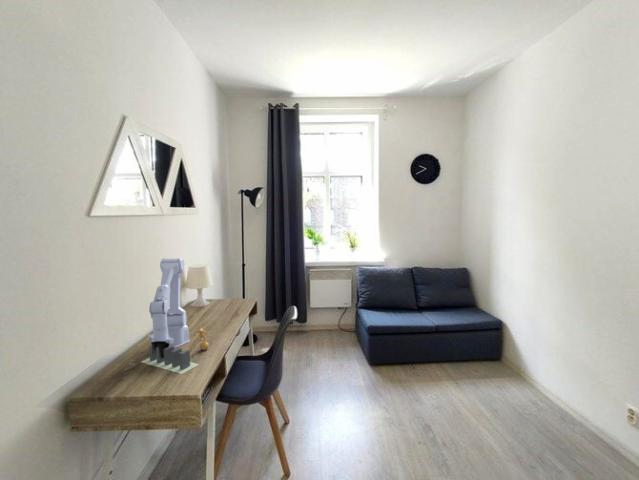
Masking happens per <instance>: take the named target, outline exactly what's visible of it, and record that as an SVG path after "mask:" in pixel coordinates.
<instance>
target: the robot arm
mask: <svg viewBox="0 0 639 480" xmlns="http://www.w3.org/2000/svg"><path fill="white" fill-rule="evenodd" d="M159 267H160V271H161V273H162V274H161V281H160V285H159V286H157V287H156V291H155V295H154V297H153V300H152V301H151V302H150V303H149V307H148V308H149V309H148V311H149V314H150V318H151V319H152V332H153V333H151V334H148V335H147V339H148V340H151V342H150V343H151V344H150V345H152V346H153V347H154V349H155V351H156V347H159V350H160V355H161V358H164V349H165V348H167V347H170V346H174V349H177V348H180V346H182V345H185V344H187V343H189V342H190V343H191V340H190V332H189V331H190V330H189V327H188V325H187V321H188V320H187V319H188V317H187V312H186V310H185V309H184V308H182V307H181V279H182V278H181V276H182V275H183V274H184V273H185V262H184V259H183V258H182V257H178V258H174V257H173V258H161V259H160V263H159Z"/></svg>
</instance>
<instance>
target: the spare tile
mask: <svg viewBox="0 0 639 480" xmlns="http://www.w3.org/2000/svg"><path fill="white" fill-rule="evenodd" d="M156 355H157V363H162V362H164V358H161V355H160V350H159V347H156Z"/></svg>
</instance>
